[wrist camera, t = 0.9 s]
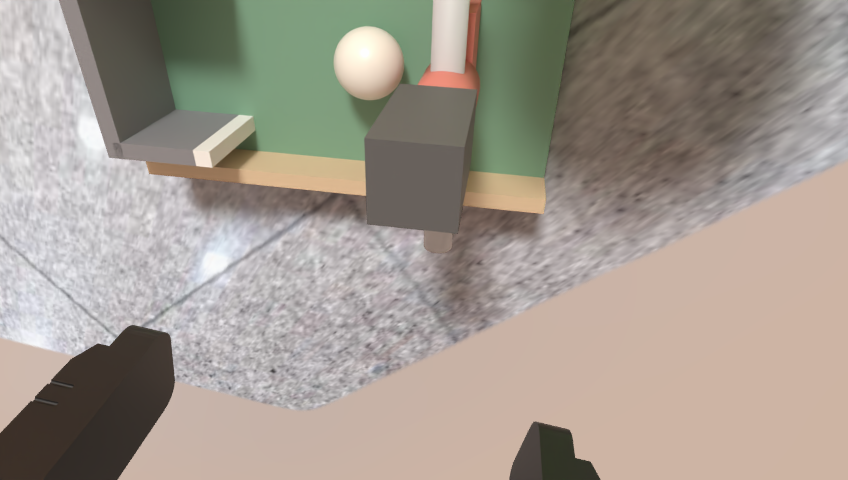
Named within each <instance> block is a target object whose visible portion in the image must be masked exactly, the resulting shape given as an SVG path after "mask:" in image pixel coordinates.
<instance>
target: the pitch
mask: <svg viewBox="0 0 848 480" xmlns="http://www.w3.org/2000/svg"><path fill="white" fill-rule="evenodd" d="M59 2H60V5H61V8H62V11H63V14H64V17H65V20H66V24H67V27H68V30H69V33H70V36H71V39H72V42H73V46H74V49H75V52H76V55H77V58H78V61H79V64H80V67H81V71H82V74H83V77H84V80H85V83H86V86H87V89H88V93H89V96H90V99H91V102H92V105H93V108H94V111H95V114H96V118H97V121H98V124H99V127H100V130H101V133H102V136H103V139H104V143H105V146H106V149H107V152H108V155H109V158H119V159H129V160H139V161H146V164H147V167H148V171H149V174H155V175H165V176H175V177H185V178H195V179H205V180H215V181H224V182H234V183H244V184H254V185H264V186H274V187H283V188H293V189H303V190H313V191H323V192H333V193H343V194H352V195H362V196H366V179H365V148H364V138H365V136H366V135H367V133H368V132H369V130H370V128H371V127H372V125H373V124H374V122H375V121H376V119H377V118H378V116H379V115H380V113H381V112H382V110H383V109H384V107H385V105H386V104H387V102H388V101H389V99H390V98H391V96H392V95H393V93H394V92H395V90H396V89H397V87H398V86H399V84H412V85H418V83H419V81H420V79H421V78H422V76H423V74H424V72H425V70H426V69H427V67H428V66H429V65H430V64H431V43H432V16H433V0H59ZM574 2H575V0H482V2H481V14H480V26H479V38H478V50H477V62H476V70H477V72H478V75H479V78H480V91H479V96H478V101H477V105H476V111H475V123H474V134H473V145H472V157H471V165H470V170H469V176H468V181H467V187H466V192H465V198H464V203H463V206H471V207H481V208H490V209H500V210H510V211H520V212H530V213H540V214H544V208H545V203H546V194H545V182H544V175H545V170H546V164H547V158H548V152H549V147H550V141H551V135H552V129H553V123H554V118H555V112H556V106H557V100H558V95H559V89H560V83H561V77H562V71H563V66H564V60H565V54H566V48H567V42H568V37H569V31H570V25H571V19H572V14H573V8H574ZM364 26H372V27H377V28H380V29H382V30H384V31H386V32H388V33H389V34H390V35H391V36H392V37H393V38H394V39H395V40H396V41H397V43H398V44H399V46H400V48H401V50H402V53H403V57H404V72H403V76H402V78H401V81H400V83H399V84H398V86H397V87H396V88H395V89H394V91H393V92H391V93H390V94H389V95H387V96H385V97H383V98H381V99H377V100H363V99H359V98H357V97H354V96H353V95H351V94H350V93H348V92H347V91H346V90H345V89H344V88H343V87H342V86H341V84H340V83H339V81H338V79H337V77H336V74H335V70H334V54H335V50H336V48H337V45H338V43H339V42H340V40H341V39H342V38H343V37H344V36H345V35H346V34H347V33H348V32H350V31H351V30H354V29H356V28H359V27H364Z"/></svg>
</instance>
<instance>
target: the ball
mask: <svg viewBox="0 0 848 480" xmlns="http://www.w3.org/2000/svg"><path fill="white" fill-rule="evenodd" d="M334 70H335V74H336V77H337V79H338V81H339V83H340V84H341V86H342V87H343V88H344V89H345V90H346V91H347V92H348V93H350V94H351V95H353V96H354V97H357V98H359V99H363V100H377V99H381V98H383V97H385V96H387V95H389V94H390V93H391V92H393V91H394V89H395V88H396V87H397V86H398V84H399V83H400V81H401V78H402V76H403V72H404V57H403V53H402V50H401V48H400V46H399V44H398V43H397V41H396V40H395V39H394V38H393V37H392V36H391V35H390V34H389V33H388V32H386V31H384V30H382V29H380V28H377V27H372V26H364V27H359V28H356V29H354V30H351V31H350V32H348V33H347V34H346V35H345V36H344V37H343V38H342V39H341V40H340V42H339V43H338V45H337V48H336V50H335V54H334Z"/></svg>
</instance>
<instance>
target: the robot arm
mask: <svg viewBox="0 0 848 480" xmlns="http://www.w3.org/2000/svg"><path fill="white" fill-rule="evenodd" d="M174 383H175V377H174V367H173V357H172V347H171V338H170V335H169V334H168V333H165V332H161V331H157V330H152V329H148V328H144V327H140V326H135V325H131V326H129V327H127V328H126V329H125V330H124V331H123V332H122V333H121V334H120V335H119V336H118V337H117V338H116V339H115V341H114V342H113V343H112V344H111V345H110V346H106V345H102V344H96V345H95V346H93V347H91V348H89V349H88V350H86V351H84V352H83V353H81V354H79V355H77V356H76V357H74V358H72V359H71V360H70V361H69V362H68V363H67V364H66V365H65V366H64V367H63V368H62V369H61V370H60V371H59V372H58V373H57V374H56V376H55V377H54V378H53V379H52V381H51V383H50V384H47V385H46V386H45V387H44V388H43V389H42V390H41V391H40V392H39V394H37V395H36V396H35V400H34V401H33V402H32V401H31V402H30V403H29V404H28V405H27V406H26V407H25V408H24V409H23V410H22V411H21V412H20V413H19V414H18V415H17V416H16V417H15V418H14V419H13V420H12V421H11V423H10V424H9V425H8V426H7V427H6V428H5V429H4V430H3V431H2V432H1V433H0V480H117V479H118V478H119V476H120V475H121V473H122V472H123V470H124V469H125V468H126V466H127V465H128V463H129V462H130V460H131V459H132V457H133V456H134V454H135V453H136V451H137V450H138V448H139V447H140V445H141V444H142V442H143V441H144V439H145V438H146V436H147V435H148V433H149V432H150V431H151V429H152V428H153V426H154V425H155V423H156V422H157V420H158V418H159V417H160V416H161V414H162V413H163V411H164V409H165V408H166V406H167V405H168V402H169V400H170V398H171V396H172V393H173V389H174ZM510 480H600V478H599V476H598V475H597V473H596V471H595V469H594V467H593V465H592V464H591V462H589V461H585V460H581V459H577V458H575V454H574V446H573V439H572V434H571V432H570V430H568V429H565V428H561V427H556V426H552V425H548V424H544V423H539V422H533V424H532V425H531V427H530V429H529V431H528V433H527V435H526V437H525V439H524V441H523V443H522V446H521V448H520V450H519V452H518V454H517V456H516V458H515V460H514V462H513V465H512V469H511V473H510Z"/></svg>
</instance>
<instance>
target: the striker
mask: <svg viewBox="0 0 848 480" xmlns="http://www.w3.org/2000/svg"><path fill="white" fill-rule="evenodd" d="M481 2H482V0H433V16H432V43H431V64H430V65H429V66H428V67H427V69H426V70H425V72H424V74H423V76H422V78H421V79H420V81H419V83H418V85H412V84H399V86H398V87H397V89H396V90H395V92H394V93H393V95H392V96H391V98H390V99H389V101H388V102H387V104H386V105H385V107H384V109H383V110H382V112H381V113H380V115H379V116H378V118H377V119H376V121H375V122H374V124H373V125H372V127H371V128H370V130H369V132H368V133H367V135H366V136H365V138H364V148H365V179H366V210H367V224H370V225H379V226H389V227H398V228H407V229H416V230H424V247H425V249H426V250H428V251H430V252H432V253H445V252H448V251H449V250H451V248H452V239H453V233H454V234H458V230H459V225H460V219H461V214H462V208H463V203H464V198H465V192H466V187H467V181H468V176H469V170H470V165H471V157H472V145H473V134H474V123H475V111H476V105H477V101H478V96H479V91H480V78H479V75H478V72H477V70H476V62H477V50H478V38H479V26H480V14H481Z"/></svg>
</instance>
